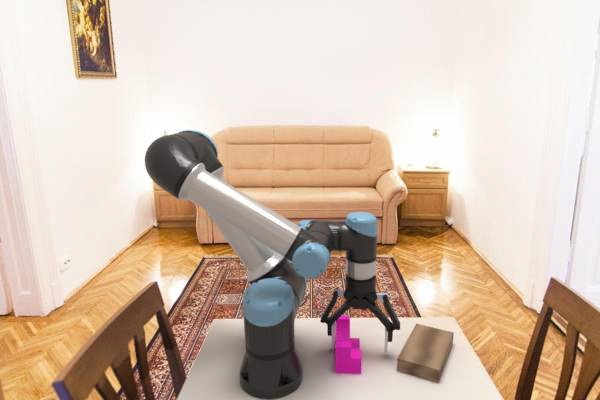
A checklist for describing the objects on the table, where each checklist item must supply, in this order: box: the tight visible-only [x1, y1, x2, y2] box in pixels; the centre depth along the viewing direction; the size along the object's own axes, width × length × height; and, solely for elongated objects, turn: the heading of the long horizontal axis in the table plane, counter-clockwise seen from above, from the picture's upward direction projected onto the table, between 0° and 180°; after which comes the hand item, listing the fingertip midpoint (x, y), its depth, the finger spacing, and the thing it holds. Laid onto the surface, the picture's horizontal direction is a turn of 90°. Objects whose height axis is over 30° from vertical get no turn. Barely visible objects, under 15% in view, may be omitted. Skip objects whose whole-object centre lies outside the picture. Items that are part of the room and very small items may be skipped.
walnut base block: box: [396, 323, 455, 384], centre depth 112 cm, size 10×18×4 cm, turn 151°
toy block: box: [334, 314, 362, 375], centre depth 113 cm, size 15×6×8 cm, turn 175°
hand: (359, 348), depth 115 cm, fingers open, 13 cm apart
